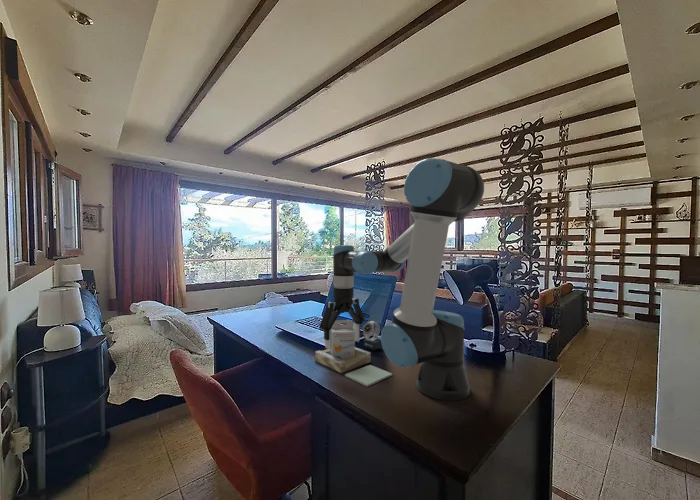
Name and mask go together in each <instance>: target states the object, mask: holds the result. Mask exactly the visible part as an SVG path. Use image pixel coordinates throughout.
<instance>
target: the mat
mask: <svg viewBox="0 0 700 500" xmlns="http://www.w3.org/2000/svg"><path fill="white" fill-rule="evenodd" d="M344 376H345V378H348V379H350V380H352V381H354V382H356V383H358V384H361V385H363V386H364V387H368V388H369V386H372V385H375V384H376V383H378V382H382V381H383V380H385V379H387V378H390V377H393V373H391V372H389V371H387V370H384V369H382V368H380V367H377V366H374V365H372V364H369V365H366V366H364V367H361V368H359V369H355V370H352V371H351V372H347V373H344Z"/></svg>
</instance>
